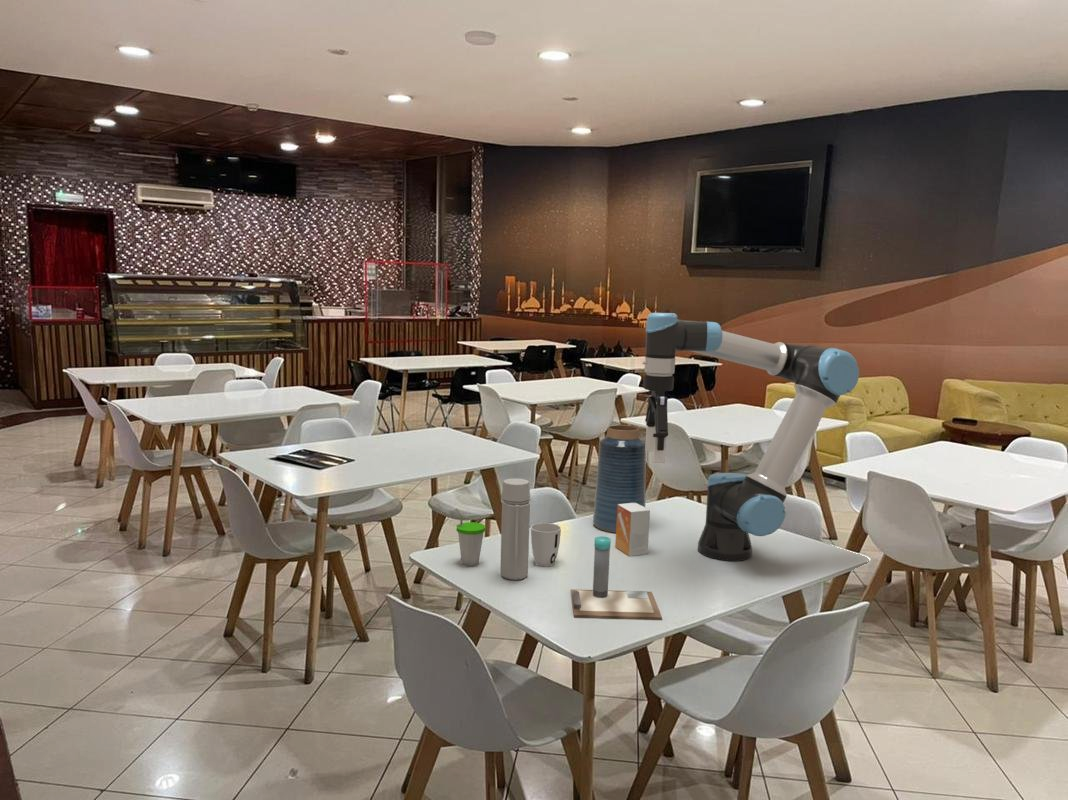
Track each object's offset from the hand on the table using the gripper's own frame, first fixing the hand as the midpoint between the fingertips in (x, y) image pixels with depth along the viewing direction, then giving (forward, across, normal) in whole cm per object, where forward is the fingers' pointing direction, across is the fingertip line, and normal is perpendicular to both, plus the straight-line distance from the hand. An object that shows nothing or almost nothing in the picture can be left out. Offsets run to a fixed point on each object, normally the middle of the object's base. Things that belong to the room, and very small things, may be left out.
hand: (654, 456), depth 198 cm
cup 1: (+32, -5, -47) cm, 57 cm away
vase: (+32, -42, -3) cm, 53 cm away
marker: (+31, +16, -14) cm, 38 cm away
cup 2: (+32, -7, -27) cm, 42 cm away
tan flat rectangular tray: (+32, +20, -11) cm, 39 cm away
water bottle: (+32, +4, -35) cm, 48 cm away
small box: (+32, -19, -2) cm, 37 cm away
